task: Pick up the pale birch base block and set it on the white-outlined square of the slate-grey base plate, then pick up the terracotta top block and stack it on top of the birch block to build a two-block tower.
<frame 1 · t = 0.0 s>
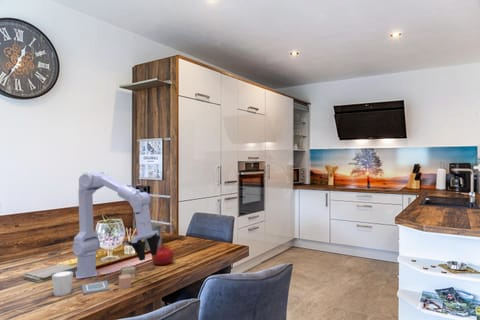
hand: (148, 257, 126), 11 cm above the table, tool pointing down, fingers open, 7 cm apart
base block: (127, 277, 135), on the table
grey cylinder: (62, 293, 118), on the table
top block: (124, 286, 124), on the table
washcloth: (51, 276, 138), on the table
pomegranate: (162, 264, 153), on the table
pillar candle: (152, 248, 182), on the table
base plate: (95, 288, 123), on the table
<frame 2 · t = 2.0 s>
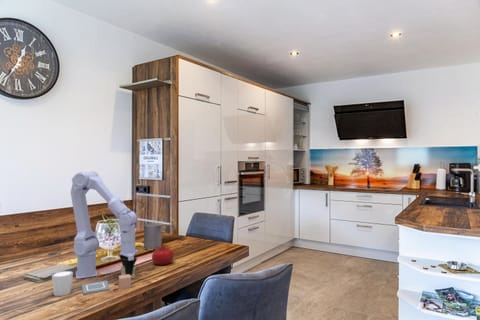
hand: (127, 273, 135), 1 cm above the table, tool pointing down, fingers closed on base block, 5 cm apart
base block: (127, 276, 135), on the table, touching gripper
everything else where it was.
when the fingers open (3 cm above the table, at t = 5.6 s): base block stays where it is, resting on base plate.
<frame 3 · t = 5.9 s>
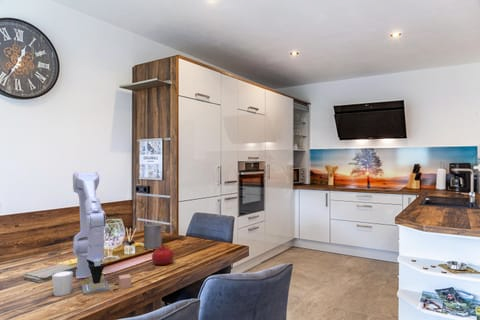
hand: (95, 280, 123), 3 cm above the table, tool pointing down, fingers open, 7 cm apart
base block: (96, 286, 123), point 1 cm above the table, touching base plate
everything else where it was.
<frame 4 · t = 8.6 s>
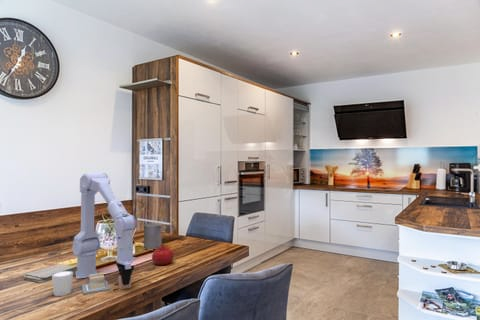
hand: (124, 282, 124), 1 cm above the table, tool pointing down, fingers closed on top block, 4 cm apart
top block: (124, 286, 124), on the table, touching gripper
everything else where it was.
when the fingers open (7 cm above the table, at t = 11.6 s): top block stays where it is, resting on base block.
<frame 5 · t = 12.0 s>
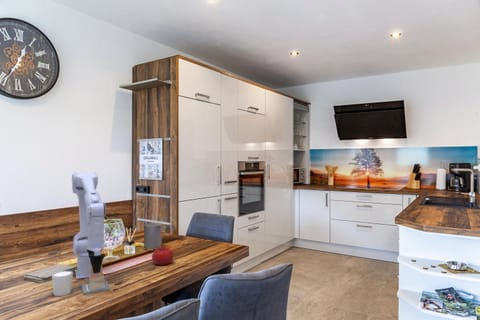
hand: (95, 270, 123), 7 cm above the table, tool pointing down, fingers open, 7 cm apart
base block: (96, 286, 123), point 1 cm above the table, touching base plate, top block
top block: (96, 275, 123), point 5 cm above the table, touching base block
everything else where it was.
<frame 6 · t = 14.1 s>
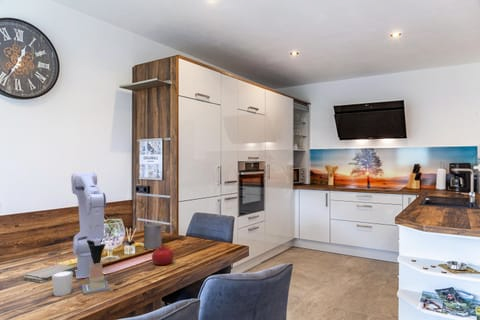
hand: (95, 260, 123), 10 cm above the table, tool pointing down, fingers open, 7 cm apart
nothing on the table moved.
at the end: base block 0.4 cm from the target spot, point 0.6 cm above the table; top block 0.2 cm off-centre on the base block, point 4.0 cm above the base block's base; top block tilted 0° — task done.
